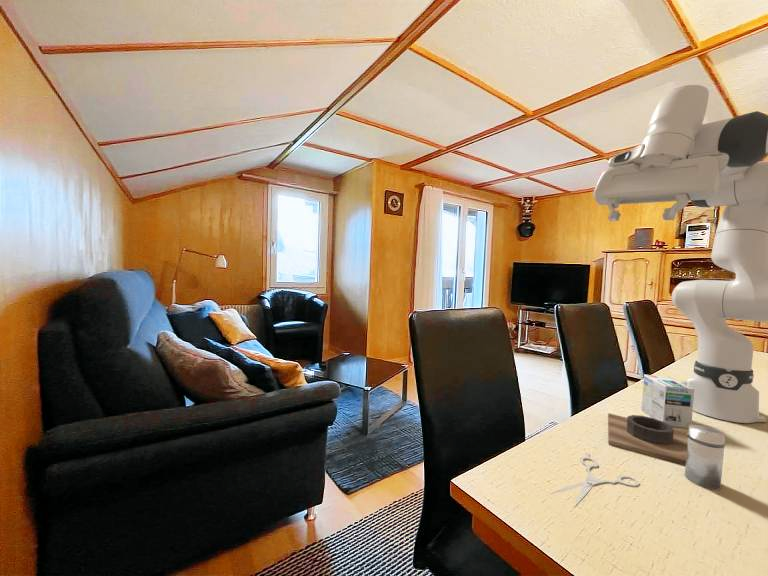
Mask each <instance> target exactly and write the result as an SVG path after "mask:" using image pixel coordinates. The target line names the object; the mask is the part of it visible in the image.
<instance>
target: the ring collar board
mask: <svg viewBox="0 0 768 576" xmlns="http://www.w3.org/2000/svg"><path fill="white" fill-rule="evenodd" d="M607 426H608V428H607V430H608V432H607V435H608V436H607V440H608V442H607V443H608V445H610V446H613V447H617V448H622V449H625V450H629V451H632V452H635V453H639V454H643V455H647V456H650V457H652V458H653V457H654V458H658V459H661V460H665V461H668V462H672V463H676V464H680V465H683V466H685V465H686V454H687V442H688V433H687V431H686V430H683V429H679V428H676V427H673V426H670V425H668V424H667V423H665V422H662V421H660V420H657V419H654V418H653V417H651V416H649V417H648V416H645V415H635V414H632V415H627V417H626V416H622V415H617V414H614V413H610V412H608V414H607Z"/></svg>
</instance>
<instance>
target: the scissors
mask: <svg viewBox="0 0 768 576" xmlns="http://www.w3.org/2000/svg"><path fill="white" fill-rule="evenodd" d="M584 455H585V456H581V457H580V458H579V461H580V463H581V464H582V465H583V466H585V467H586V468H585V471H586V472H587V473H588V475H587V477H586V478H585V480H584V481H582V482H578V483H575V484H572V485H569V486H566V487H563V488H560V489H558V490H555V491H552V492H551V493H550V494H556V493H561V492H567V491H571V490H574V489H577V488H580V487H581V486H582V487H581V489H580V492H579V494H578V495H577V499H576V502H575V504H574V506H573V507H574V508H575V507H576V506H577V505H578V504H579V503H580V501H582V500H583V498H584V497H586V495H587V494H588V493H589V492H590V490H591V489H592V488H593V487H594V486H597V485H601V484H610V485H615V484H621V485H624V486H626V487H627V486H628V487H634V488H635V487H638V486H639V485H640V482H639V480H638V479H636V478H635V477H632V476H629V475H623V474H621V475H617V476H616V478H617V479H614V480H607V479H606V480H605V479H601V478H595V477H594V475H593V474H592V472H591V469H592V468H593V469H594V468H596V469H597V468H598V467H599V464H598V462H597V461H596V460H595V459H593V458H591V457H590V452H584ZM585 460H588V461H591V462H593V464H589V463H586V462H585ZM623 479H630V480H632V481H634V482H635V483H634V484H633V483H628V482H625V481H623Z"/></svg>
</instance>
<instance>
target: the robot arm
mask: <svg viewBox="0 0 768 576" xmlns="http://www.w3.org/2000/svg"><path fill="white" fill-rule="evenodd" d="M709 95H710V94H709V89H708V88H707V87H706V86H704V85H699V84H689V85H684V86H680V87H676V88H673V89H671V90H669V91H668V92H666V93H665V94H664V95H663V96H662V97H661V98H660V100H659V101H658V102H657V105H656V106H655V108H654V110H653V112H652V114H651V117H650V119H649V121H648V122H647V123H648V124H647V126H646V131H645V137H644V138H643V139H642V140H641V142H640V144H638V145H636V146H635V147H632V148H631V149H629V150H626V151H624V152H622V153H618V154H615V155H613V156H612V157H610V158H609V160H608V163H607V165H608V168H607V169H606V170H605V171H603V172H602V174H601V175H600V178H599V179H598V181H597V183H596V185H595V188H594V190H593V194H592V196H593V199H594V201H595V202H596V203H597V204H598V205H599V206H608V209H609V210H608V211H609V213H608V216H607V217H608V218H607V219H608V220H609V222H619V220H620V218H621V215H622V214H621V213H620V211H619V210H617V209H618V208H619V206H620V205H630V204H631V205H632V204H651V203H667V202H668V203H669V202H670V203H671V202H675V203H674V204H673V205H672V206H671V207H668V208H664V210H663V214H662V219H663V221H674V220H675V219H676V217H677V214H678V213H680V211H682V210H683V209H684V208H685V207H687V206H688V205H689V202H690V203H691V204H692V205H693V206H694V207H697V208H711V207H725V208H724V209H723V211H722V213H721V215H720V218H719V220H718V223H717V226H716V229H715V233H714V239H713V245H712V249H711V255H710V258H711V261H712V263H713V264H714V265H715V266H717V267H719V268H721V269H724V270H726V271H729V272H731V273H734V274H735V278H734V279H733V280H732V279H731V280H720V279H718V280H717V279H695V280H685V281H682V282H680V283H678V284H677V285H676V286H675V287H674V289H673V290H672V292H671V303H672V304H673V306H674V307H675V309H676V310H677V311H679V312H681V313H682V314H683V315H684V316H685V317H686V318H687V319H688V320H689V321H690V322H691V324H692V325H693V328H694V329H695V332H696V336H697V356H696V357H697V359H696V360H695V361H694V365H693V374H692V375H691V376H690V377H689V378H688V379H687V380H681V383H682V384H684V385H686V386H688V387H691V388H693V389H694V399H693V411H692V412H696V413H698V414H702V415H704V416H708V417H711V418H715V419H718V420H722V421H727V422H731V423H732V422H734V423H739V424H740V423H742V424H753V423H766V422H767V418H766V417H765V416H763V415H762V414H760V391H759V390H758V389H757V388H756V387H754V386H753V384H752V383H754V382H753V381H754V378H755V377H754V376H755V375H754V370H753V369H752V367H753V358H754V357H753V356H754V346H755V345H754V343H753V342H752V340H751V339H750V338H749V337H747V336H746V335H744V334H743V333H740V332H738V331H737V330H734V329H732V328H731V327H730V326H729V325H728V323H727V319H732V320H740V321H749V322H750V321H751V322H758V323H760V322H761V323H763V322H765V323H766V322H768V160H763V159H764V158H767V157H768V114H766V113H764V112H762V111H751V112H748V113H743V114H741V115H737V116H735V117H731V118H726V119H720V120H716V121H711V122H707V123H703V122H704V119H705V117H706V112H707V108H708V102H709ZM762 160H763V161H762Z"/></svg>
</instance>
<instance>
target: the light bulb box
mask: <svg viewBox="0 0 768 576" xmlns="http://www.w3.org/2000/svg"><path fill="white" fill-rule="evenodd" d="M642 384H643V385H642V395H641V396H642V397H641V406H640V407H641V408H640V409H642V410H641V411H645V412H644V413H645V414H647V415H648V414H649V417H650V418H654V419H657V420H660V421H662V422H665V423H667V424H668V425H670V426H672V427H673V428H676V427H677V428H685V429H689V425H693V424H692V423H693V420H692V419H693V412H694V411H693V399H694V389H693V388H691V387H688V386H686V385H684V384H682V382H680V381H678V380H675V379H673V378H671V377H670V376H663V375H652V374H643V383H642Z"/></svg>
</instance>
